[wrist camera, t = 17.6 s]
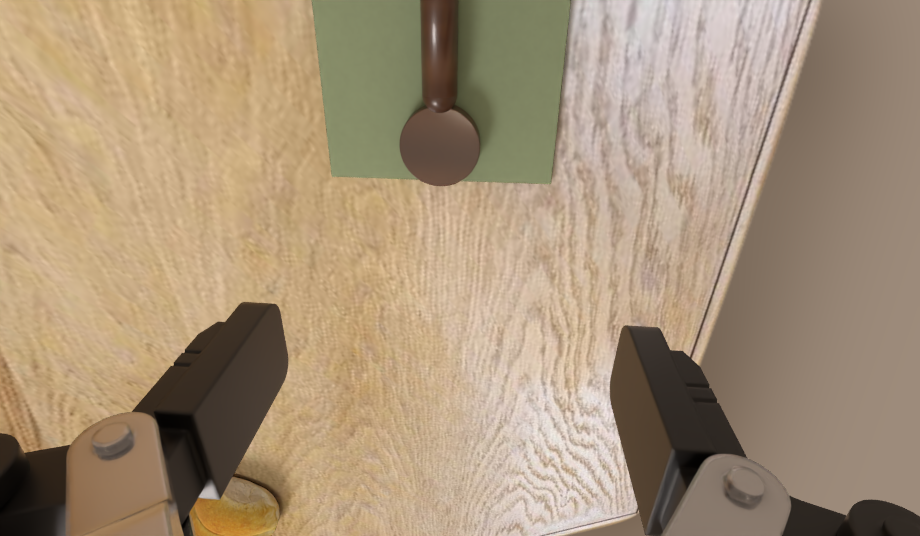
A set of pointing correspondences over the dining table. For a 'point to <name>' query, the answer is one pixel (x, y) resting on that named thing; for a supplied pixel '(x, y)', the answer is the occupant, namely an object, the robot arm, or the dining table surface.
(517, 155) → the placemat
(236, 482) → the bread roll
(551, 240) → the dining table surface
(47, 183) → the dining table surface
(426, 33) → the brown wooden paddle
